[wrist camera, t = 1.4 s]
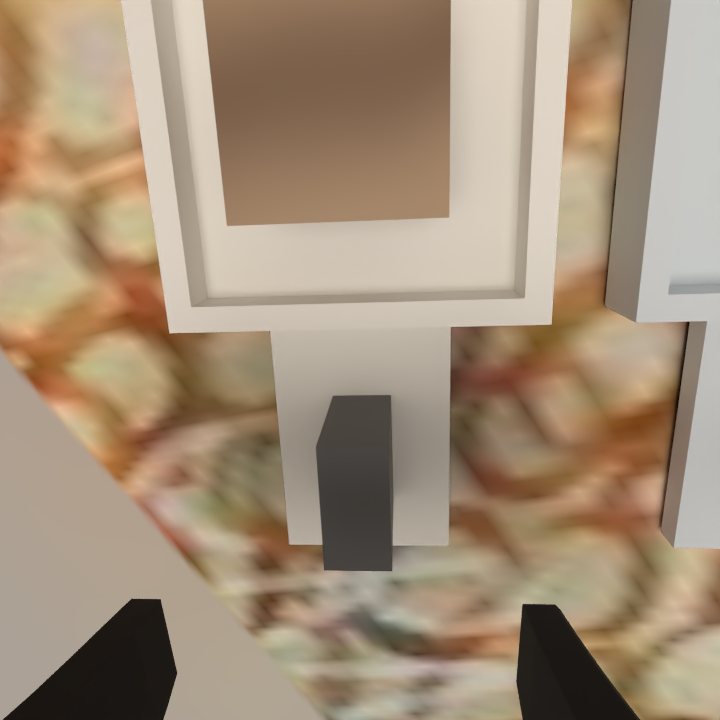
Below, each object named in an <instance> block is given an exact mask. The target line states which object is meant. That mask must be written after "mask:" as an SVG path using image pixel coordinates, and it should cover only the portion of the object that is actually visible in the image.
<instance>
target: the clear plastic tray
mask: <svg viewBox="0 0 720 720" xmlns="http://www.w3.org/2000/svg"><path fill="white" fill-rule="evenodd" d="M605 306H606V307H608V308H609V309H611V310H613V311H615V312H617V313H619V314H621V315H623V316H624V317H626V318H628V319H630V320H632V321H634V322H636V323H645V322H690V324H689V332H688V339H687V346H686V353H685V360H684V368H683V375H682V382H681V389H680V397H679V404H678V411H677V418H676V426H675V433H674V440H673V447H672V454H671V462H670V469H669V476H668V483H667V491H666V498H665V505H664V512H663V520H662V527H661V533H662V534H663V535H664V536H665V538H666V539H667V540H668V542H669V543H670V544H671V545H672V547H673V548H710V549H720V0H633V4H632V15H631V26H630V37H629V48H628V59H627V70H626V81H625V92H624V103H623V114H622V124H621V135H620V146H619V157H618V168H617V179H616V190H615V201H614V212H613V223H612V234H611V245H610V256H609V267H608V278H607V289H606V300H605Z"/></svg>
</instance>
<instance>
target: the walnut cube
mask: <svg viewBox="0 0 720 720" xmlns="http://www.w3.org/2000/svg"><path fill="white" fill-rule="evenodd" d="M203 9H204V18H205V27H206V36H207V46H208V55H209V64H210V74H211V83H212V92H213V101H214V111H215V120H216V129H217V139H218V148H219V157H220V167H221V176H222V185H223V194H224V204H225V213H226V222H227V226H242V225H268V224H294V223H320V222H346V221H372V220H398V219H424V218H449V195H450V57H451V0H203Z"/></svg>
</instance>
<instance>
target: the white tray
mask: <svg viewBox="0 0 720 720" xmlns="http://www.w3.org/2000/svg"><path fill="white" fill-rule="evenodd" d="M121 3H122V10H123V17H124V24H125V30H126V37H127V44H128V51H129V58H130V65H131V72H132V79H133V85H134V92H135V99H136V106H137V113H138V120H139V127H140V134H141V141H142V147H143V154H144V161H145V168H146V175H147V182H148V189H149V196H150V202H151V209H152V216H153V223H154V230H155V237H156V244H157V251H158V258H159V264H160V271H161V278H162V285H163V292H164V299H165V306H166V313H167V319H168V326H169V333H200V332H245V331H270V336H271V347H272V358H273V369H274V380H275V391H276V402H277V413H278V425H279V436H280V447H281V458H282V469H283V480H284V491H285V502H286V513H287V524H288V535H289V545H323V559H324V570H341V571H392V550H393V546H449V463H450V344H451V327H467V326H512V325H551V323H552V308H553V292H554V276H555V260H556V244H557V228H558V213H559V197H560V181H561V165H562V149H563V134H564V118H565V102H566V86H567V70H568V54H569V39H570V23H571V7H572V0H451V57H450V195H449V218H424V219H398V220H372V221H346V222H320V223H294V224H268V225H242V226H227V222H226V213H225V204H224V194H223V185H222V176H221V167H220V157H219V148H218V139H217V129H216V120H215V111H214V101H213V92H212V83H211V74H210V64H209V55H208V46H207V36H206V27H205V18H204V9H203V0H121Z"/></svg>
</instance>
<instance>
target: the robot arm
mask: <svg viewBox="0 0 720 720" xmlns="http://www.w3.org/2000/svg"><path fill="white" fill-rule="evenodd" d="M176 675H177V671H176V666H175V662H174V657H173V653H172V648H171V644H170V640H169V635H168V631H167V626H166V622H165V618H164V613H163V609H162V604H161V600H160V599H131V600H130V601H129V602H128V603H127V604H126V605H125V606H124V607H122V608H121V609H120V610H119V611H118V612H117V613H116V614H115V615H114V616H113V617H112V618H111V619H110V620H109V621H108V622H107V623H106V624H105V625H104V626H103V627H102V628H101V629H100V630H99V631H97V632H96V633H95V634H94V635H93V636H92V637H91V638H90V639H89V640H88V641H87V642H86V643H85V644H84V645H83V646H82V647H81V648H80V649H79V650H78V651H77V652H76V653H75V654H74V655H73V656H72V657H71V658H70V659H69V660H68V661H66V662H65V663H64V664H63V665H62V666H61V667H60V668H59V669H58V670H57V671H56V672H55V673H54V674H53V675H52V676H51V677H49V679H47V680H46V681H45V682H44V683H43V684H42V685H41V686H40V687H39V688H38V689H37V690H36V691H35V692H33V693H32V694H31V695H30V696H29V697H28V698H27V699H26V700H25V701H23V702H22V703H21V704H20V705H19V706H18V707H17V708H16V709H15V710H13V711H12V712H11V713H10V714H9V715H8V716H7V717H5V718H4V719H3V720H163V719H164V715H165V712H166V709H167V706H168V703H169V699H170V696H171V693H172V689H173V686H174V682H175V679H176ZM516 682H517V688H518V694H519V700H520V706H521V712H522V717H523V720H640V719H639V718H638V717H637V715H636V714H635V713H634V711H633V710H632V709H631V708H630V706H629V705H628V704H627V702H626V701H625V700H624V699H623V697H622V696H621V695H620V693H619V692H618V691H617V690H616V688H615V687H614V686H613V684H612V683H611V682H610V680H609V679H608V678H607V676H606V675H605V674H604V672H603V671H602V669H601V668H600V667H599V665H598V664H597V663H596V661H595V660H594V658H593V657H592V656H591V654H590V653H589V651H588V650H587V649H586V647H585V646H584V644H583V643H582V641H581V640H580V638H579V637H578V636H577V634H576V633H575V631H574V630H573V628H572V627H571V625H570V624H569V622H568V621H567V619H566V618H565V616H564V615H563V613H562V611H561V610H560V609H559V608H558V607H557V606H556V605H546V604H523V606H522V618H521V631H520V643H519V655H518V668H517V680H516Z"/></svg>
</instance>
